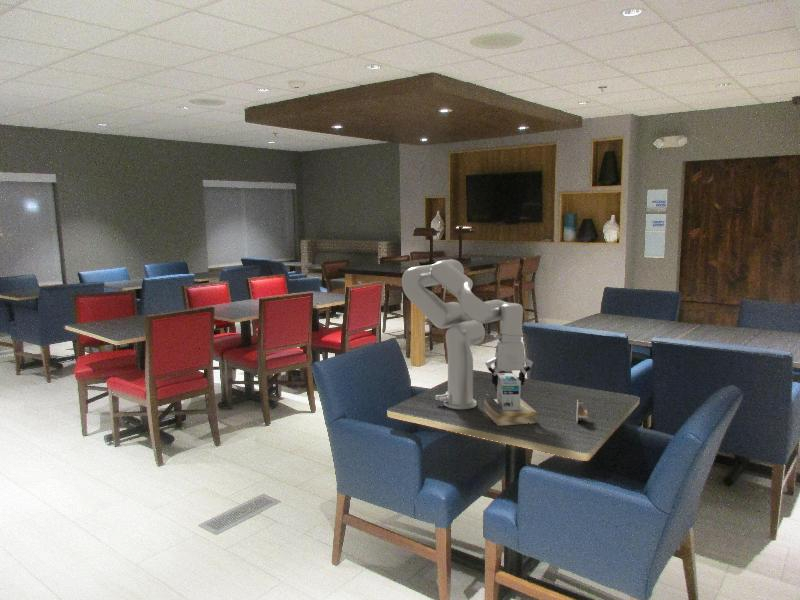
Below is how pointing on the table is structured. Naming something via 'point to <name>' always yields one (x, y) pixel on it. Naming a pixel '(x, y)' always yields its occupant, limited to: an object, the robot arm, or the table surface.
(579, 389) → the table surface
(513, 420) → the beige flat block
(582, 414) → the architectural model
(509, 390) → the light bulb box
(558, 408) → the table surface
